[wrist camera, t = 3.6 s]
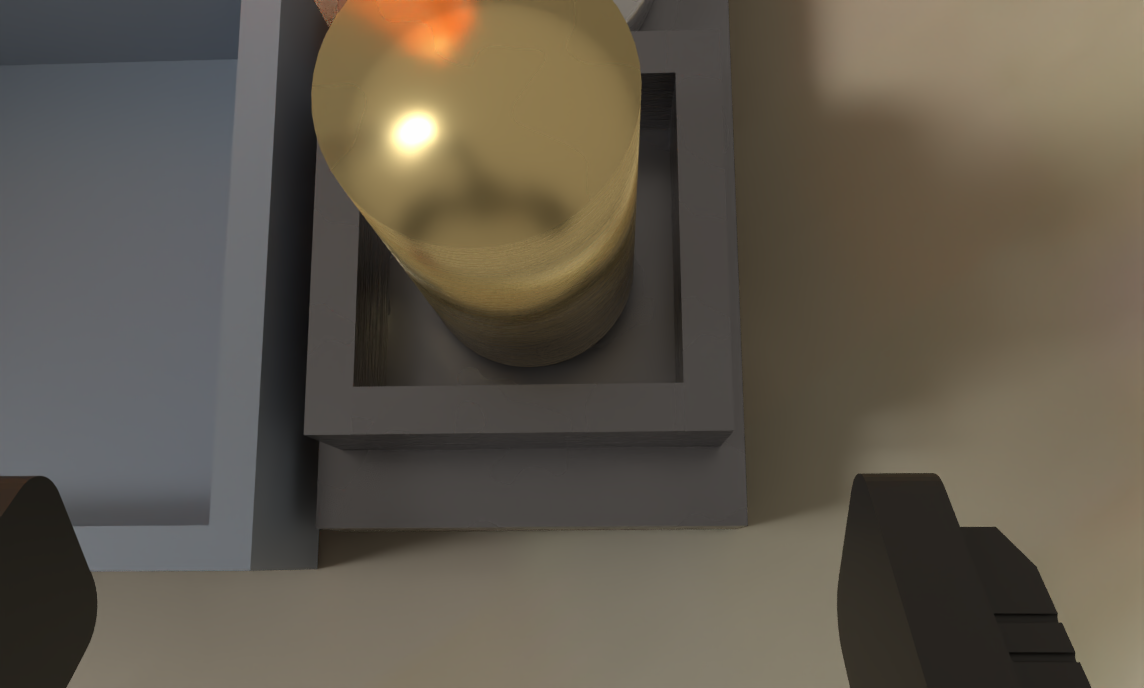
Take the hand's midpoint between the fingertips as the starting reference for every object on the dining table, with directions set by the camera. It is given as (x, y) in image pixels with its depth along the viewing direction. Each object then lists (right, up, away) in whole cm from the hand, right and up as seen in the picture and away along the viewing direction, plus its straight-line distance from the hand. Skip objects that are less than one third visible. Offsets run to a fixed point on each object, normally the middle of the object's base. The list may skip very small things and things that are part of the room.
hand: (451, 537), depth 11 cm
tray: (-10, +3, +12) cm, 16 cm away
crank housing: (+1, +5, +12) cm, 13 cm away
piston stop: (0, +3, +10) cm, 11 cm away
